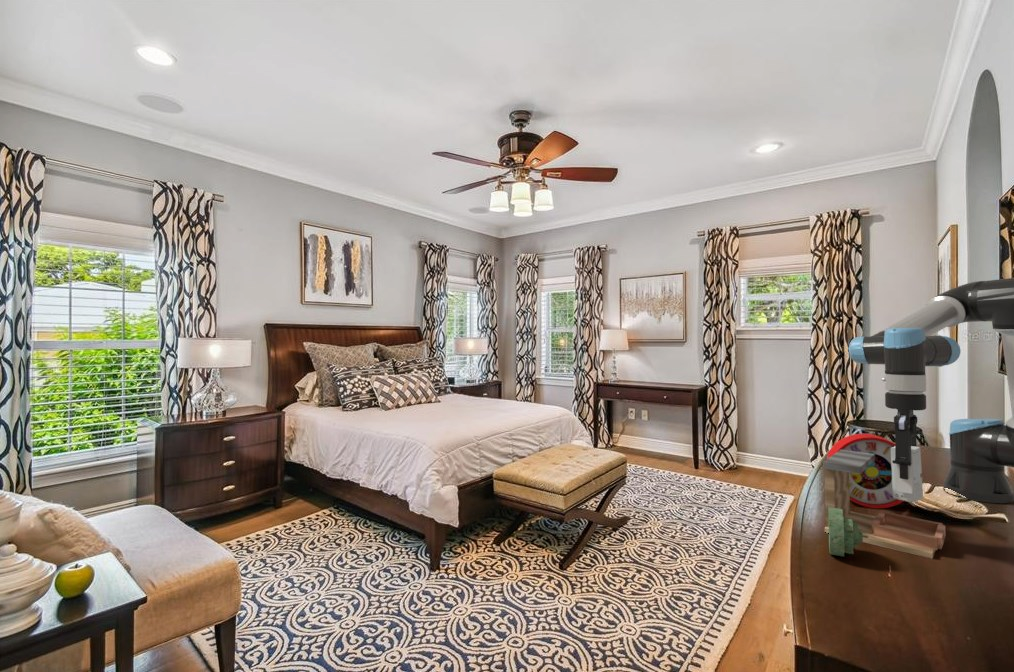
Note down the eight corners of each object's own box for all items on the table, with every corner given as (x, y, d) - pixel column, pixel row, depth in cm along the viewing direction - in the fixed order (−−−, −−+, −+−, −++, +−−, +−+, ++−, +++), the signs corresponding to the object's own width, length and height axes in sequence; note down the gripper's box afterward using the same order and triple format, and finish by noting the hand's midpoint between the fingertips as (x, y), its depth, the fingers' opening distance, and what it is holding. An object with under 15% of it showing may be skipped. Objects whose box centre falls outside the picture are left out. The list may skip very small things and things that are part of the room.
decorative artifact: (828, 544, 111) (827, 501, 111) (866, 551, 107) (865, 507, 107) (830, 561, 103) (829, 515, 103) (870, 569, 99) (869, 521, 99)
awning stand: (841, 513, 130) (840, 449, 130) (947, 536, 114) (945, 463, 115) (824, 532, 118) (823, 461, 118) (939, 560, 102) (938, 478, 102)
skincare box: (914, 503, 109) (913, 451, 109) (891, 498, 113) (889, 447, 113) (923, 497, 113) (922, 447, 113) (900, 492, 117) (899, 443, 116)
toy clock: (831, 504, 138) (830, 435, 138) (826, 497, 143) (825, 431, 143) (918, 512, 130) (916, 439, 130) (909, 505, 136) (907, 435, 136)
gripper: (891, 388, 123) (893, 477, 122) (877, 394, 109) (879, 494, 109) (930, 390, 117) (932, 483, 117) (920, 396, 104) (922, 502, 104)
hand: (907, 488), depth 113 cm, fingers closed on skincare box, 6 cm apart
